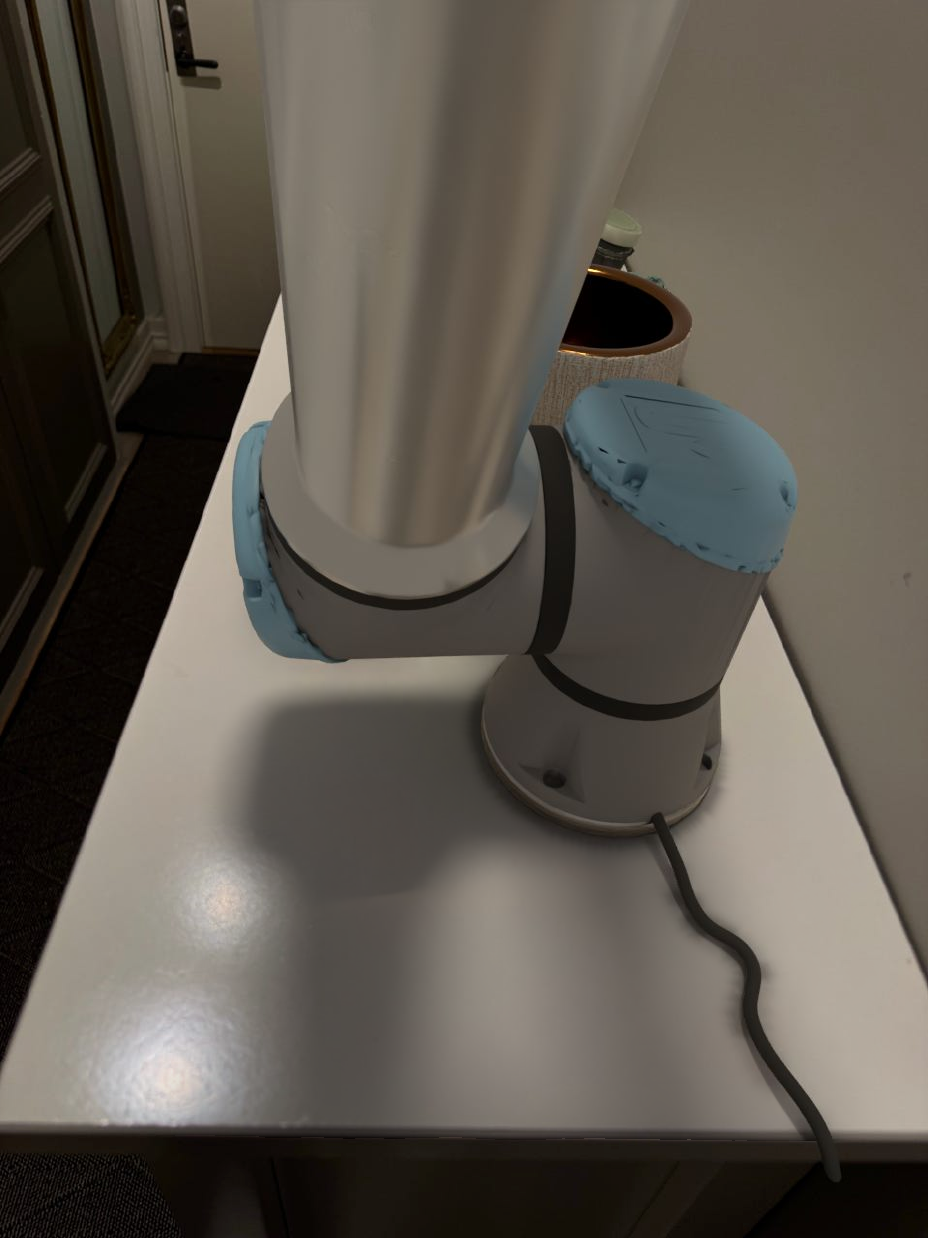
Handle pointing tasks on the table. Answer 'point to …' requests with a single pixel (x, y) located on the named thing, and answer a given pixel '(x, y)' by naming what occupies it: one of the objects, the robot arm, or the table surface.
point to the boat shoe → (617, 240)
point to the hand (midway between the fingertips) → (375, 388)
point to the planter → (615, 339)
